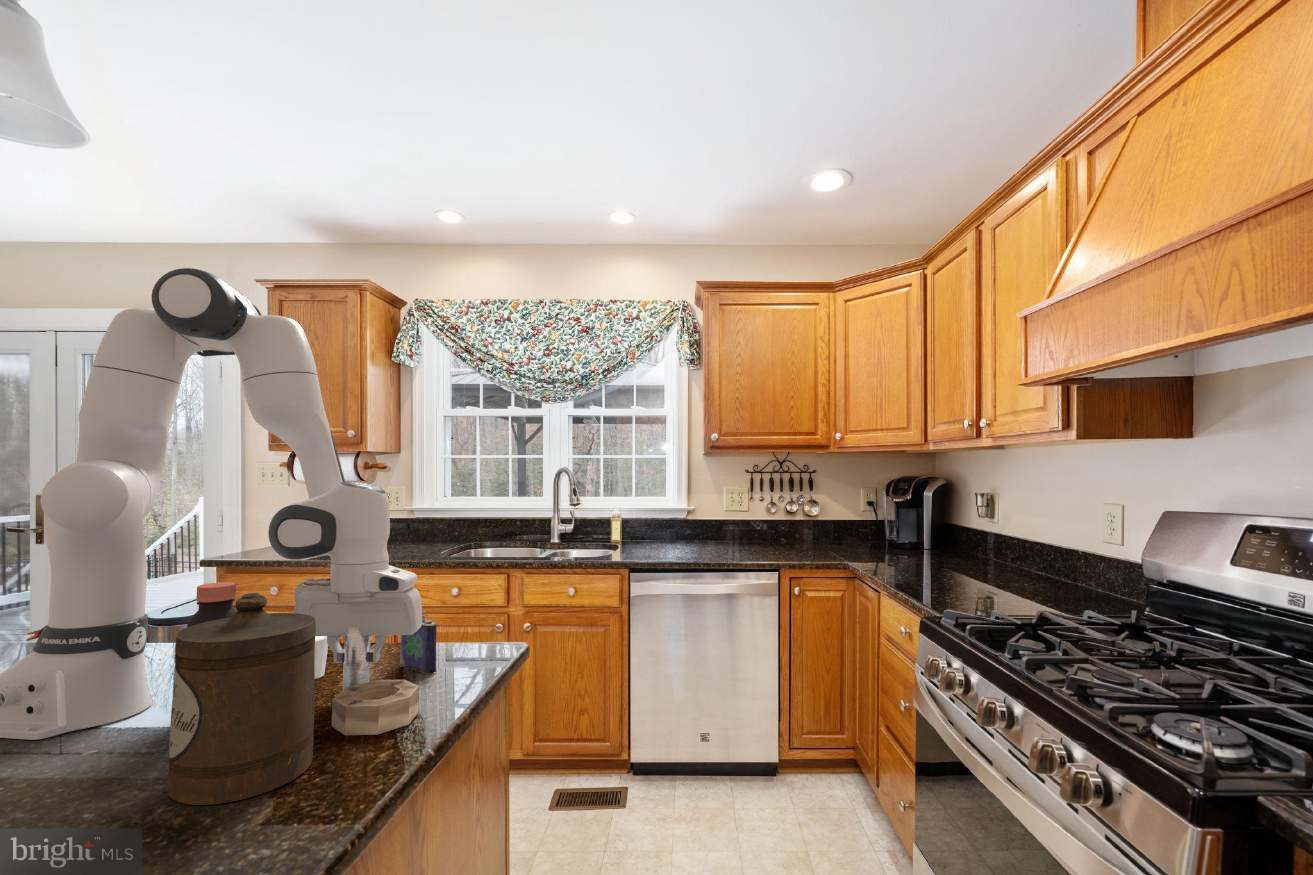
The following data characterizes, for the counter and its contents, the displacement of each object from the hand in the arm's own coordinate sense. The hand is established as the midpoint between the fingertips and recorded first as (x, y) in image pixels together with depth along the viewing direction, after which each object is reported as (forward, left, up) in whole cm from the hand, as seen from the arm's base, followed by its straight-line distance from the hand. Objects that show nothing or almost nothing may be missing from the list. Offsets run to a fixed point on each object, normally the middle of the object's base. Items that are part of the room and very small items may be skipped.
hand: (356, 661), depth 101 cm
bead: (+7, -10, -6) cm, 13 cm away
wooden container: (-3, -26, -6) cm, 27 cm away
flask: (+6, +14, -6) cm, 16 cm away
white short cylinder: (-13, +11, -6) cm, 18 cm away
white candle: (0, 0, -6) cm, 6 cm away
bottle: (-18, -8, -6) cm, 21 cm away
